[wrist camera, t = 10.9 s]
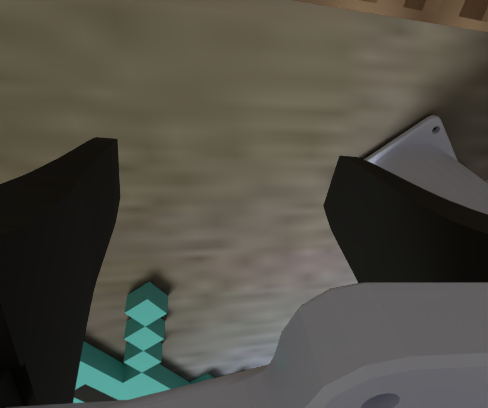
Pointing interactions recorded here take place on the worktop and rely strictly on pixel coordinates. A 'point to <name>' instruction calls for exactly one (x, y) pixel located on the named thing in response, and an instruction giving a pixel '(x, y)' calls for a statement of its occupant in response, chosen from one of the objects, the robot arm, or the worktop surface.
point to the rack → (422, 10)
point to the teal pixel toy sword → (131, 356)
